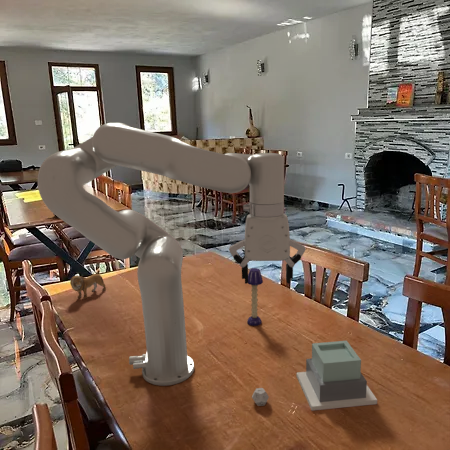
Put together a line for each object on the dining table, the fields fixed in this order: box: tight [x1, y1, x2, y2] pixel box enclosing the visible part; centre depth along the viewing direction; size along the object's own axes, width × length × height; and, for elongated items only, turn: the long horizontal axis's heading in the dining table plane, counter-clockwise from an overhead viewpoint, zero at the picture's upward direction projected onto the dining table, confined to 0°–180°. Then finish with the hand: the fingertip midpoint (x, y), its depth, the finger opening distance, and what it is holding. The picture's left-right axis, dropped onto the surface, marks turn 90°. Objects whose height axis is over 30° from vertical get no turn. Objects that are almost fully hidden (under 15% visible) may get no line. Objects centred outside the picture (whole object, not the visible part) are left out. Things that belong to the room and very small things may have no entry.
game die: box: [251, 387, 270, 407], centre depth 90 cm, size 4×4×3 cm
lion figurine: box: [69, 273, 107, 299], centre depth 149 cm, size 15×5×9 cm, turn 151°
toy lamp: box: [246, 267, 264, 327], centre depth 123 cm, size 5×5×17 cm
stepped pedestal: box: [296, 340, 378, 411], centre depth 92 cm, size 14×12×9 cm
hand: (267, 281), depth 98 cm, fingers open, 9 cm apart
